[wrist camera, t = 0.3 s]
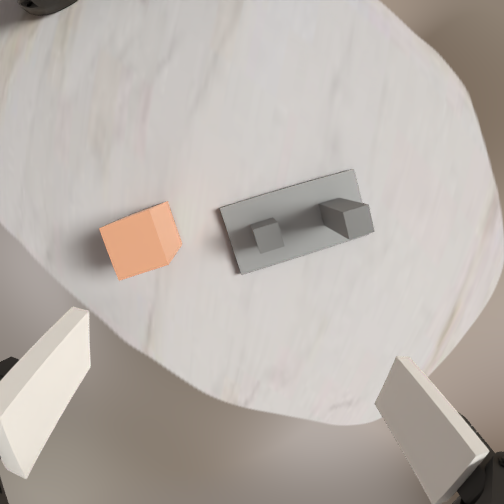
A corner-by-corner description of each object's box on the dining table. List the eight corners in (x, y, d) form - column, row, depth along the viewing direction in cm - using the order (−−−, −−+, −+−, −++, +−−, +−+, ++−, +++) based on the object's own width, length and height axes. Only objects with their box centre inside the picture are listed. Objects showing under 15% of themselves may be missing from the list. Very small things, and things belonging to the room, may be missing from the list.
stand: (220, 207, 36) (216, 218, 27) (352, 169, 36) (386, 168, 27) (241, 273, 38) (244, 303, 29) (367, 233, 38) (402, 250, 29)
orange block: (127, 216, 35) (99, 228, 27) (167, 201, 35) (149, 209, 27) (142, 257, 36) (119, 280, 28) (182, 244, 36) (168, 264, 28)
